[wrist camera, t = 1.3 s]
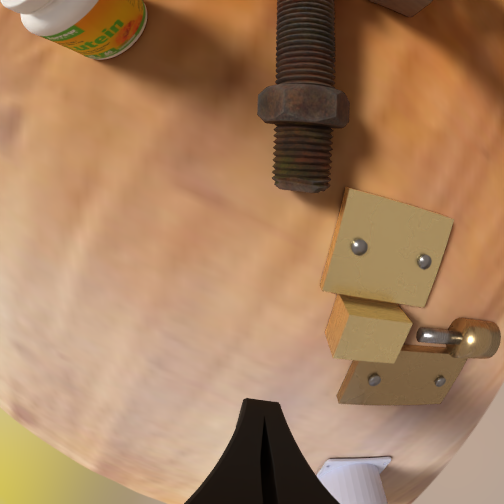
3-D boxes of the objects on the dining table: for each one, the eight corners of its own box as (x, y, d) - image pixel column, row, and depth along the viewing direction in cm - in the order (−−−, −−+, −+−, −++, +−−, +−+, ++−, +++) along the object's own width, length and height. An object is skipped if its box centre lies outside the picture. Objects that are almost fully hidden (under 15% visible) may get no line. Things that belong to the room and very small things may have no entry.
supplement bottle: (88, 75, 16) (-10, 44, 7) (74, 20, 15) (-10, -23, 6) (158, 37, 16) (87, -32, 6) (139, -17, 14) (76, -88, 5)
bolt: (282, 179, 20) (287, -20, 15) (357, 190, 18) (358, -27, 13) (231, 189, 16) (241, -58, 11) (327, 202, 13) (327, -76, 8)
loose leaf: (401, 341, 22) (416, 364, 19) (306, 329, 21) (312, 355, 19) (447, 216, 19) (471, 227, 16) (345, 186, 18) (361, 193, 15)
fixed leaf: (442, 396, 24) (455, 418, 21) (336, 395, 24) (343, 422, 21) (486, 315, 21) (506, 333, 18) (377, 298, 21) (393, 321, 18)
